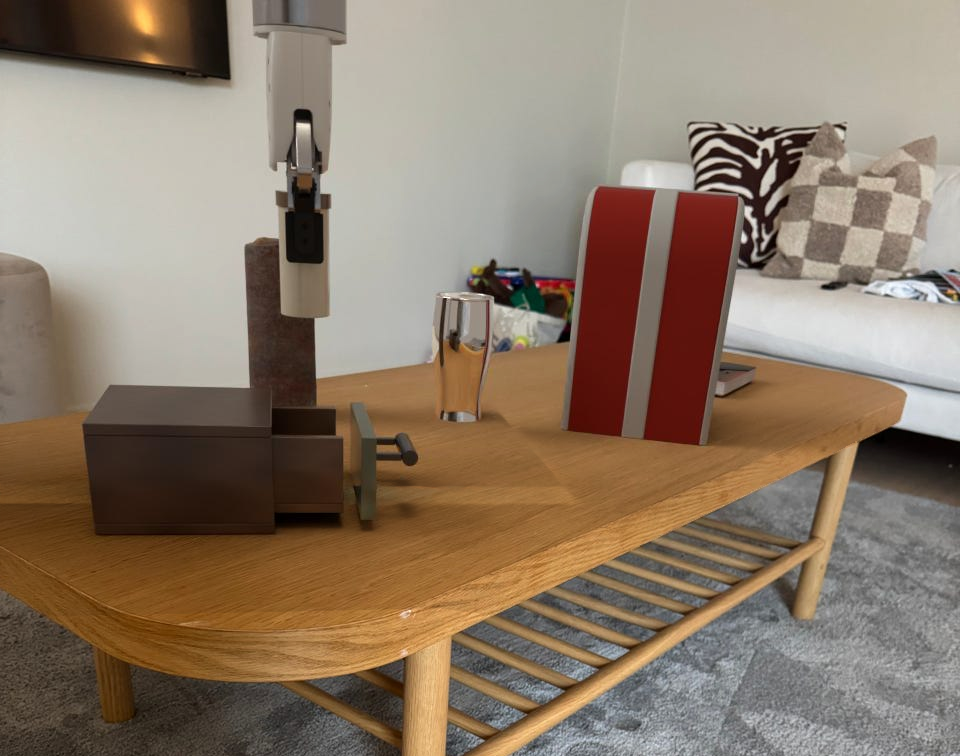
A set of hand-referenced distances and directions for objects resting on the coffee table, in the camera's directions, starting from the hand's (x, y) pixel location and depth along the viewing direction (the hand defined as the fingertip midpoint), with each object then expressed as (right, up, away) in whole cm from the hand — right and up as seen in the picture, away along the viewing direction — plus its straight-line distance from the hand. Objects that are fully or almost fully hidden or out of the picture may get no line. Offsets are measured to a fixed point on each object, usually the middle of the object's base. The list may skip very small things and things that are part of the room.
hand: (304, 257), depth 85 cm
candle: (-7, -10, +23) cm, 26 cm away
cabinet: (-9, -23, -3) cm, 25 cm away
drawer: (+1, -21, -1) cm, 22 cm away
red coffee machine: (+36, -7, +36) cm, 51 cm away
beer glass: (+13, -10, +27) cm, 32 cm away
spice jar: (0, -4, +2) cm, 5 cm away
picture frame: (+46, +7, +65) cm, 80 cm away
